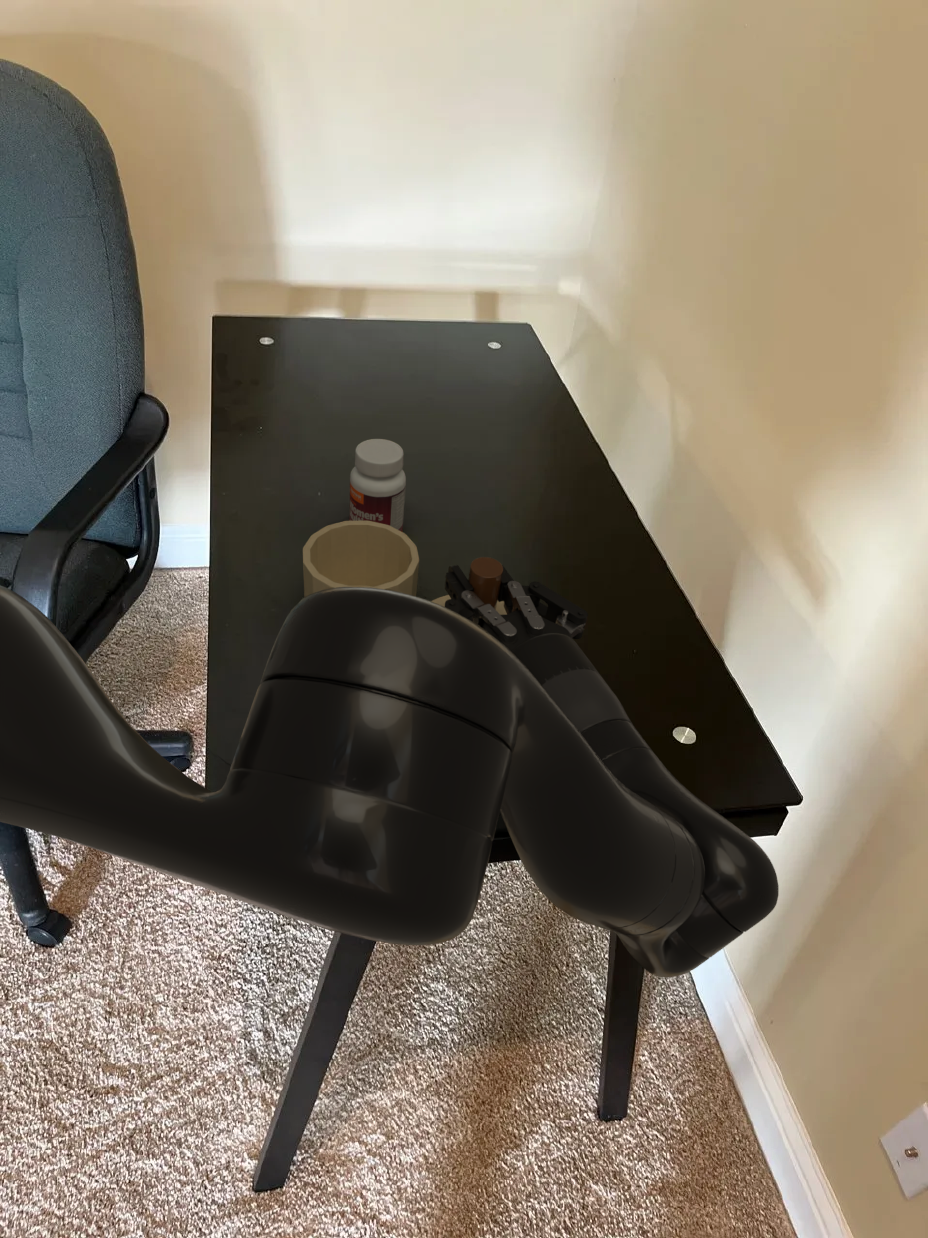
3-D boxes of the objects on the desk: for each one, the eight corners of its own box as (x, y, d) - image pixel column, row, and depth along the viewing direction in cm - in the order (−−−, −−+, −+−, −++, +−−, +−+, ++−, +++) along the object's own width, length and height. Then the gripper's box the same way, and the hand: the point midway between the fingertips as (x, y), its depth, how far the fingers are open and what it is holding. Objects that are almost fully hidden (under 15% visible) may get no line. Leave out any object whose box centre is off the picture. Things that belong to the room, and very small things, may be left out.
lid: (491, 714, 70) (506, 636, 64) (382, 648, 74) (387, 568, 68) (562, 641, 78) (582, 565, 72) (459, 585, 82) (470, 509, 76)
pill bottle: (339, 542, 94) (339, 455, 86) (363, 514, 98) (365, 430, 91) (388, 558, 93) (393, 472, 85) (410, 529, 97) (416, 445, 90)
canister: (365, 673, 79) (367, 608, 74) (282, 621, 83) (278, 555, 78) (434, 616, 86) (441, 552, 81) (354, 571, 91) (355, 507, 85)
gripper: (651, 652, 63) (544, 522, 74) (486, 696, 57) (397, 549, 69) (628, 717, 68) (530, 586, 79) (473, 763, 62) (392, 616, 74)
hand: (469, 570), depth 74 cm, fingers closed on lid, 3 cm apart
